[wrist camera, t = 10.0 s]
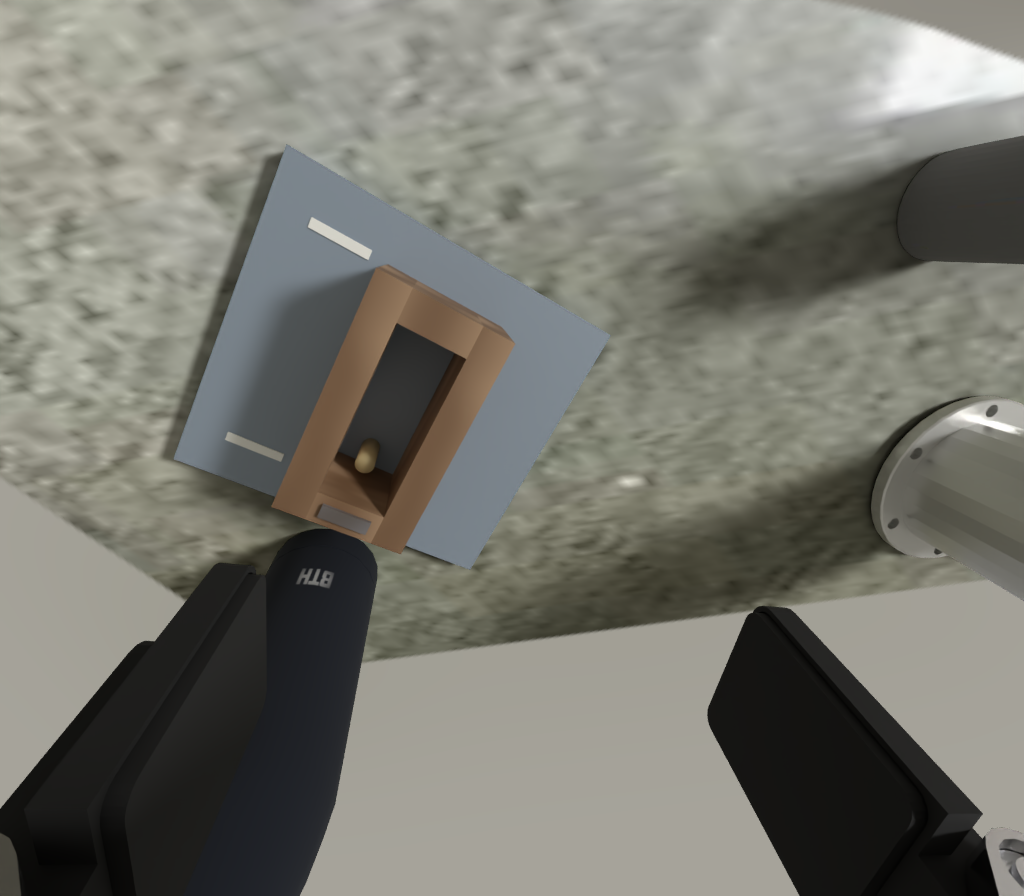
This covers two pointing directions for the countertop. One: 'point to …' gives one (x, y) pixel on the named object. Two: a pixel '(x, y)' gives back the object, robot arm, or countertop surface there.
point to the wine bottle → (294, 721)
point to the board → (402, 369)
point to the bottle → (967, 206)
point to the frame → (458, 398)
